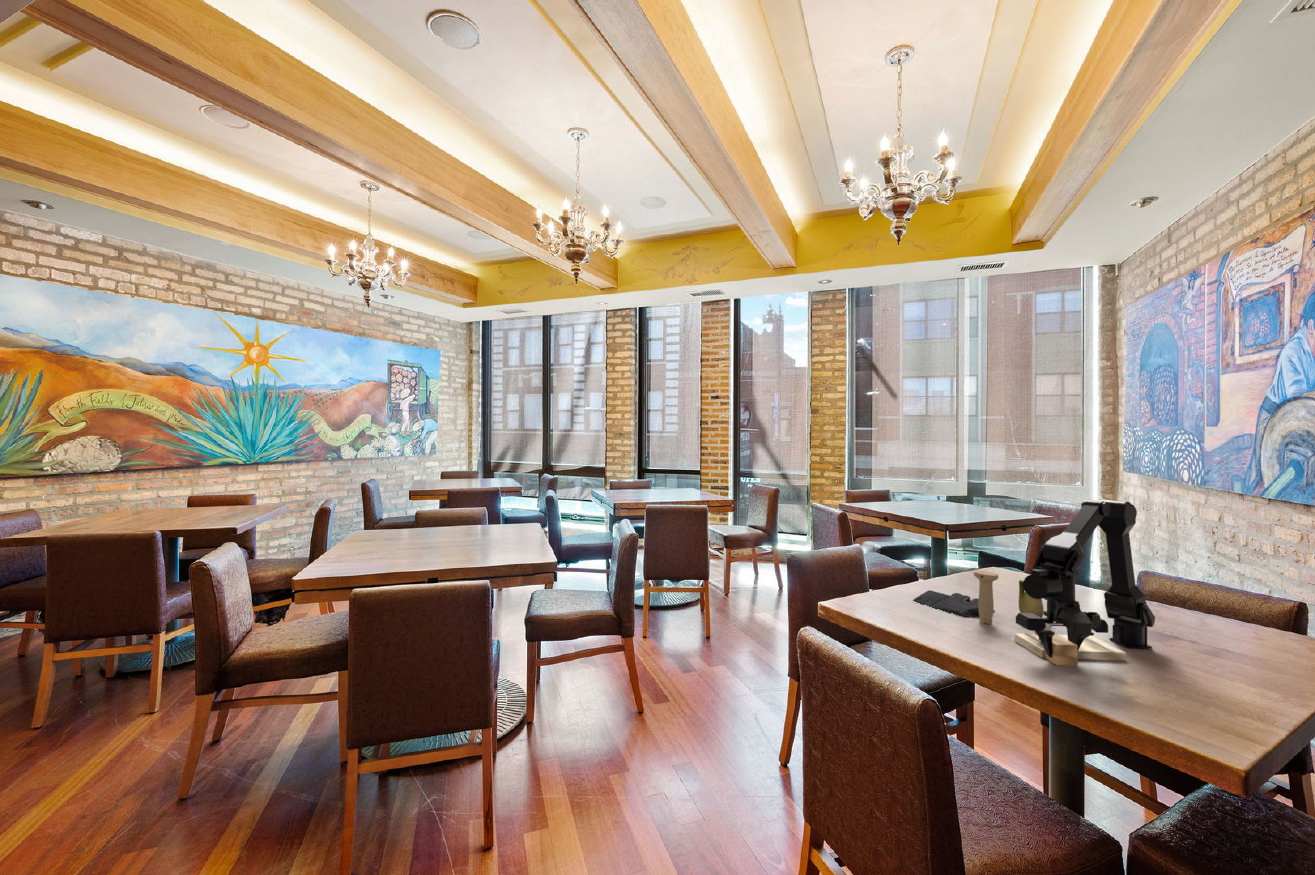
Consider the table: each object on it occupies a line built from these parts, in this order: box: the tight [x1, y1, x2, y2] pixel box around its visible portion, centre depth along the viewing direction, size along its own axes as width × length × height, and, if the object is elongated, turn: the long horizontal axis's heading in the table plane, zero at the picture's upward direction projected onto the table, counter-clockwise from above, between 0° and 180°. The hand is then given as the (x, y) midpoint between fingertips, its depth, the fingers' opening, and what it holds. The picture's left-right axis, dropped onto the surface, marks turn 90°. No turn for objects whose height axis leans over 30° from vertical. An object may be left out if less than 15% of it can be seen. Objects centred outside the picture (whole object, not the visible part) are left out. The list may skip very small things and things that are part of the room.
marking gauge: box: [1034, 631, 1078, 667], centre depth 138 cm, size 5×11×5 cm, turn 176°
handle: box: [973, 570, 999, 625], centre depth 165 cm, size 5×6×15 cm
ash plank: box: [1014, 632, 1127, 662], centre depth 143 cm, size 20×12×2 cm, turn 86°
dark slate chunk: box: [912, 590, 996, 619], centre depth 181 cm, size 15×22×5 cm
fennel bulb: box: [1018, 579, 1044, 618], centre depth 168 cm, size 6×5×12 cm
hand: (1061, 657), depth 135 cm, fingers closed on marking gauge, 5 cm apart
